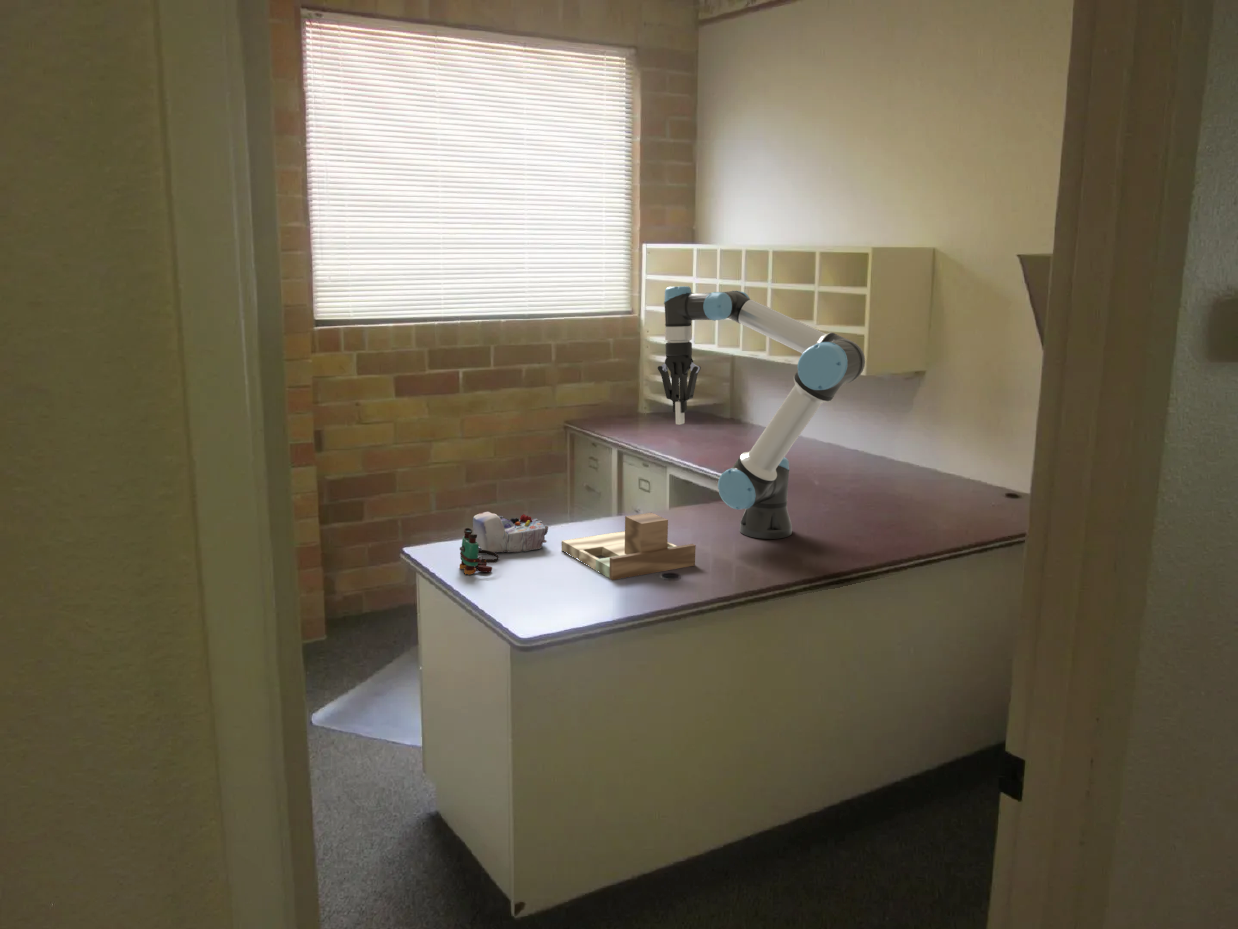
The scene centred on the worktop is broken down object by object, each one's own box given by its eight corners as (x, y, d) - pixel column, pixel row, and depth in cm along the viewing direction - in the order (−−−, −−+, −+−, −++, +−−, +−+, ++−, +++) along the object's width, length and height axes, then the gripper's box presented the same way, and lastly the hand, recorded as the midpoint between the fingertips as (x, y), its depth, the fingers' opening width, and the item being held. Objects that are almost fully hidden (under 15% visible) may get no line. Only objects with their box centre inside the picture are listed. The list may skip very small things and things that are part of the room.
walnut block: (624, 553, 261) (625, 516, 259) (650, 549, 266) (651, 512, 263) (641, 561, 255) (641, 523, 253) (667, 557, 259) (668, 519, 257)
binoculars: (504, 535, 252) (466, 535, 248) (500, 575, 254) (462, 576, 250) (494, 526, 260) (456, 526, 256) (490, 565, 262) (453, 566, 258)
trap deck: (561, 551, 273) (561, 531, 271) (639, 538, 285) (639, 520, 284) (612, 580, 250) (612, 559, 248) (695, 565, 262) (695, 545, 261)
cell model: (467, 509, 273) (533, 502, 283) (467, 547, 275) (533, 538, 286) (487, 519, 262) (554, 512, 273) (486, 559, 264) (554, 550, 275)
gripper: (705, 340, 284) (706, 423, 288) (664, 340, 291) (666, 421, 295) (693, 342, 278) (694, 426, 282) (652, 342, 285) (654, 424, 289)
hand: (680, 423), depth 288 cm, fingers closed
